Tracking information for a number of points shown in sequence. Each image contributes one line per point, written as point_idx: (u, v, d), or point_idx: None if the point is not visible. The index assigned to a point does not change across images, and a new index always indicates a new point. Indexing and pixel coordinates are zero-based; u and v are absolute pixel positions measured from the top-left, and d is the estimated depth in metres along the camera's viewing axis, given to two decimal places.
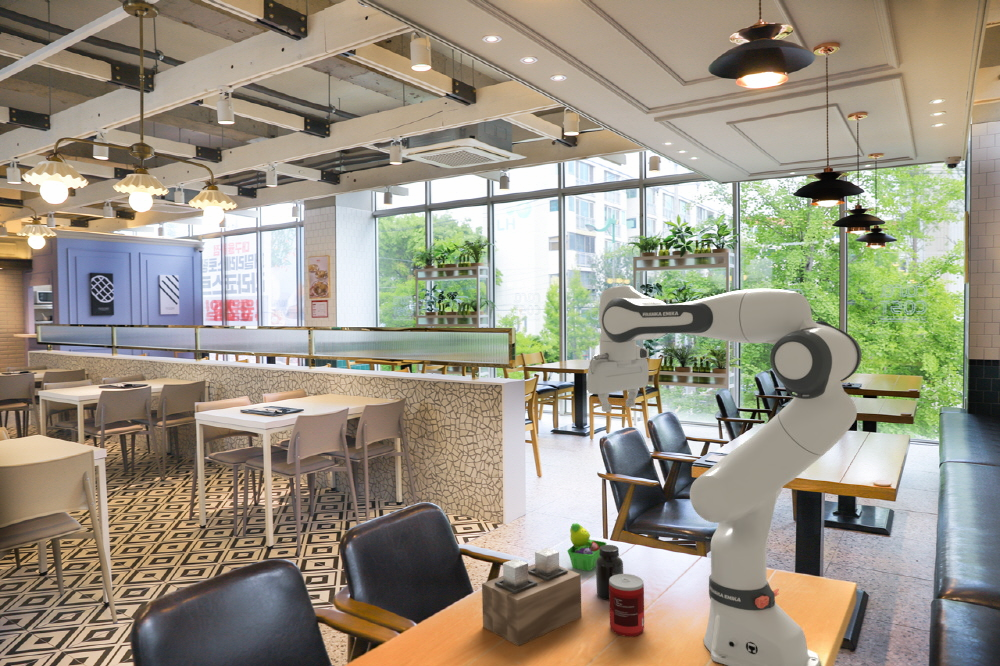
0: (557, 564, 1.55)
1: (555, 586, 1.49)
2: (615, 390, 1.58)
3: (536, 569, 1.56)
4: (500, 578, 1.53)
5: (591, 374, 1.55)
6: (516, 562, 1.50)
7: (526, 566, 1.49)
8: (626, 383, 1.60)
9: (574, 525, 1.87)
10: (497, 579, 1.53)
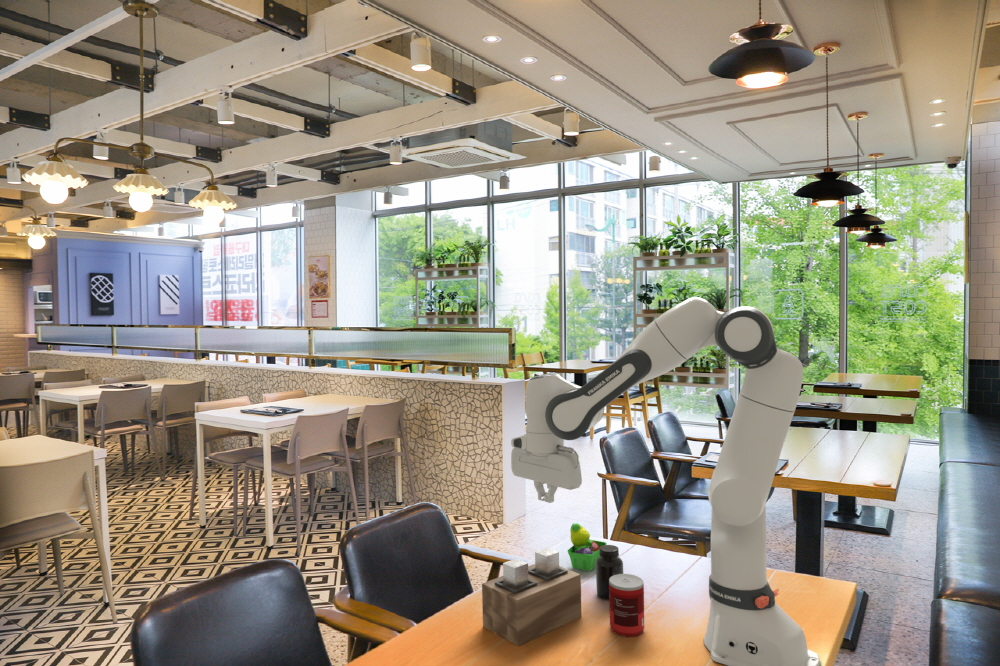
0: (557, 564, 1.55)
1: (555, 586, 1.49)
2: None
3: (536, 569, 1.56)
4: (500, 578, 1.53)
5: (574, 469, 1.47)
6: (516, 562, 1.50)
7: (526, 566, 1.49)
8: None
9: (574, 525, 1.87)
10: (497, 579, 1.53)
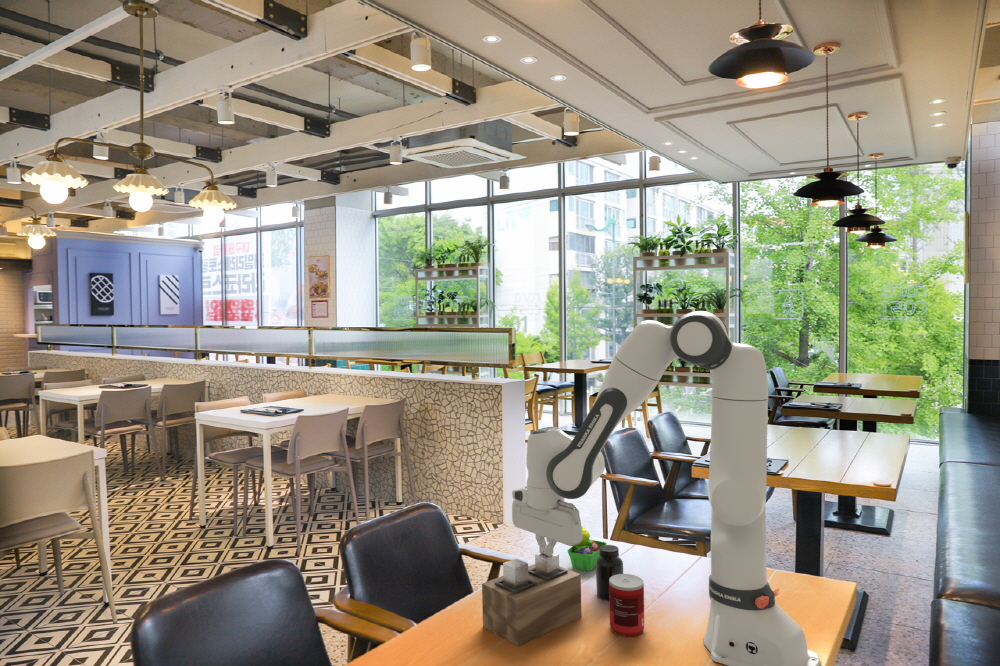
0: (557, 567, 1.55)
1: (555, 586, 1.49)
2: None
3: (536, 572, 1.56)
4: (500, 578, 1.53)
5: (575, 525, 1.48)
6: (516, 562, 1.50)
7: (526, 566, 1.49)
8: None
9: None
10: (497, 579, 1.53)
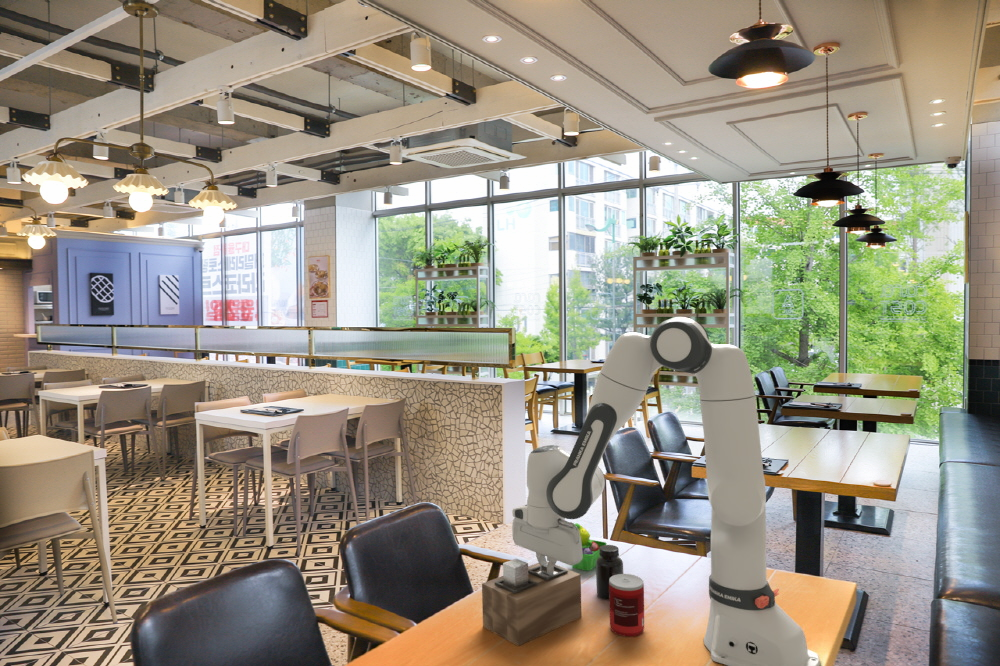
0: None
1: (555, 586, 1.49)
2: None
3: None
4: (500, 578, 1.53)
5: (576, 544, 1.48)
6: (516, 562, 1.50)
7: (526, 566, 1.49)
8: None
9: None
10: (497, 579, 1.53)
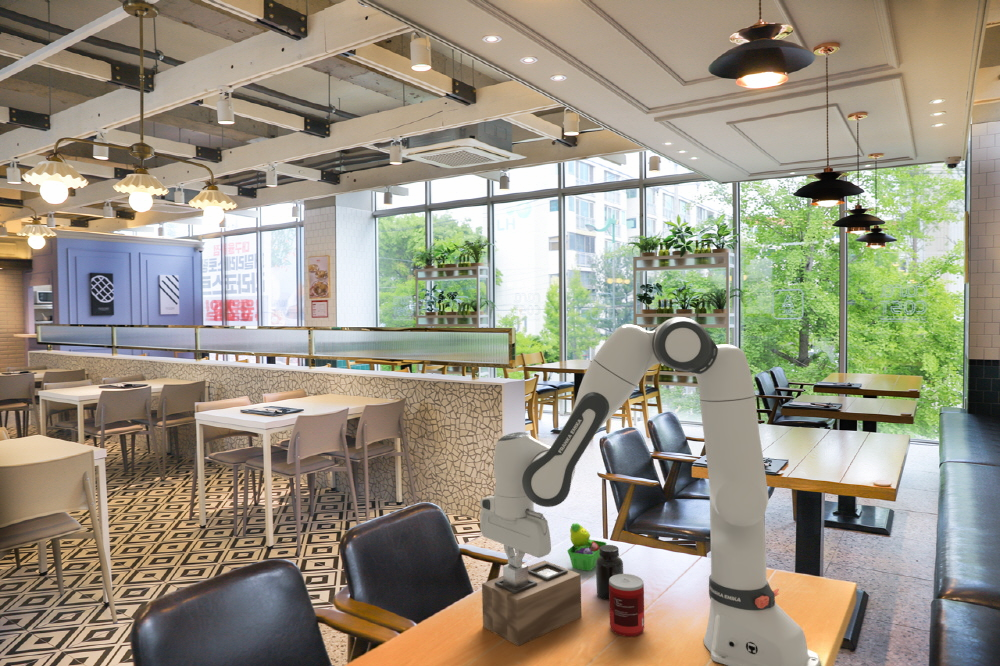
0: None
1: (555, 586, 1.49)
2: None
3: None
4: (500, 578, 1.53)
5: (543, 536, 1.41)
6: None
7: (526, 569, 1.49)
8: None
9: (574, 525, 1.87)
10: (497, 579, 1.53)
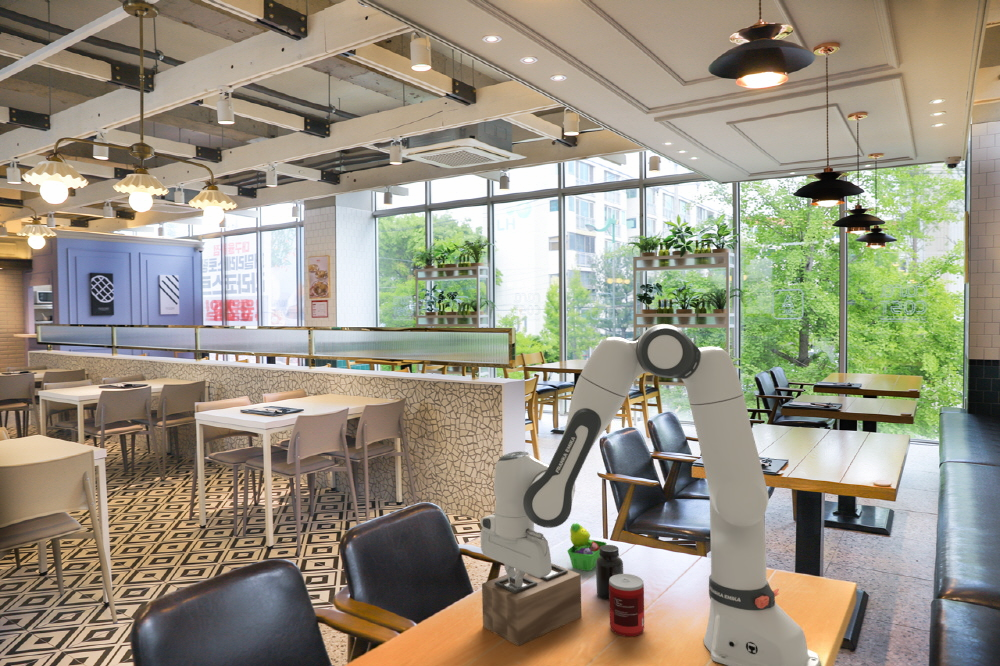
0: None
1: (555, 586, 1.49)
2: None
3: None
4: (500, 578, 1.53)
5: (544, 556, 1.41)
6: None
7: None
8: None
9: (574, 525, 1.87)
10: (497, 579, 1.53)
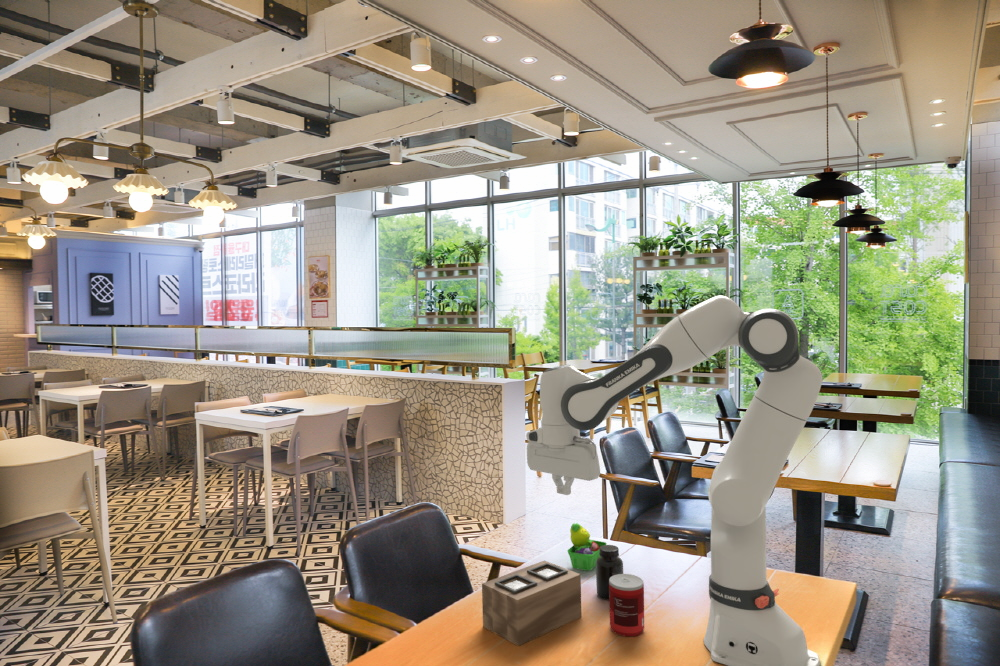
0: None
1: (555, 586, 1.49)
2: None
3: None
4: (500, 578, 1.53)
5: (593, 459, 1.47)
6: (516, 584, 1.50)
7: None
8: None
9: (574, 525, 1.87)
10: (497, 579, 1.53)
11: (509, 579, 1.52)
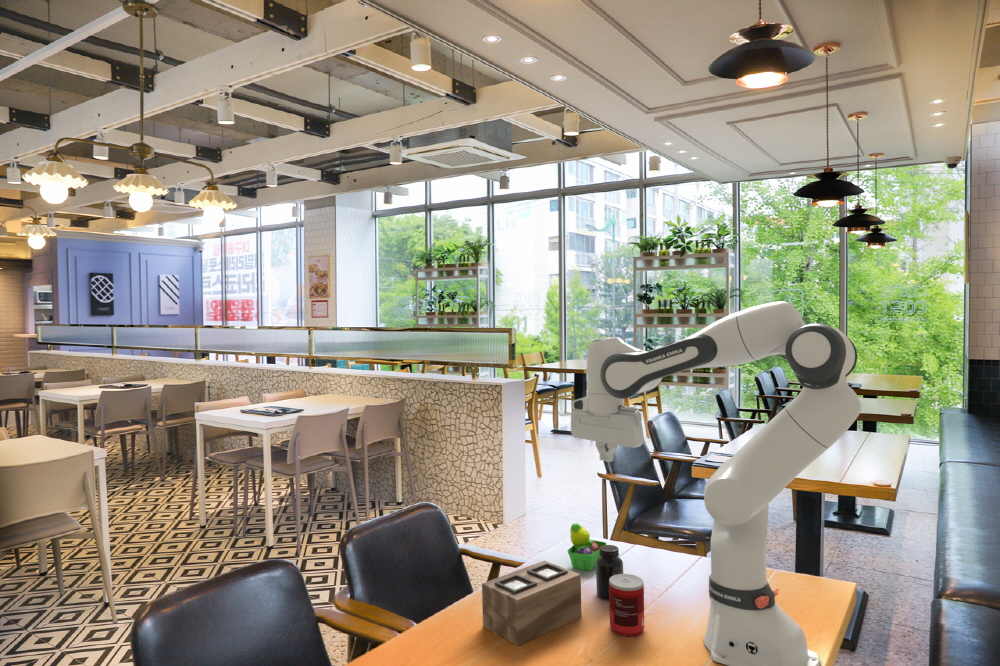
0: None
1: (555, 586, 1.49)
2: None
3: None
4: (500, 578, 1.53)
5: (637, 427, 1.52)
6: (516, 584, 1.50)
7: None
8: None
9: (574, 525, 1.87)
10: (497, 579, 1.53)
11: (509, 579, 1.52)
